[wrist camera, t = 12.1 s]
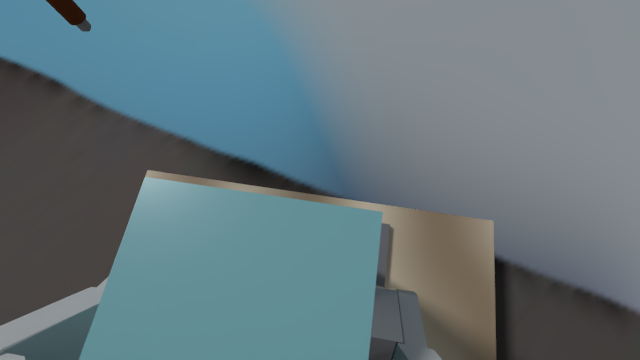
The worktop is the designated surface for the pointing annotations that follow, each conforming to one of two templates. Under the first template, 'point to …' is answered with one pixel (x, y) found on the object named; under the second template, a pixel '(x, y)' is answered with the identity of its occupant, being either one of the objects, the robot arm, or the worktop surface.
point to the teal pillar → (238, 279)
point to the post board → (426, 268)
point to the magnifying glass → (71, 13)
